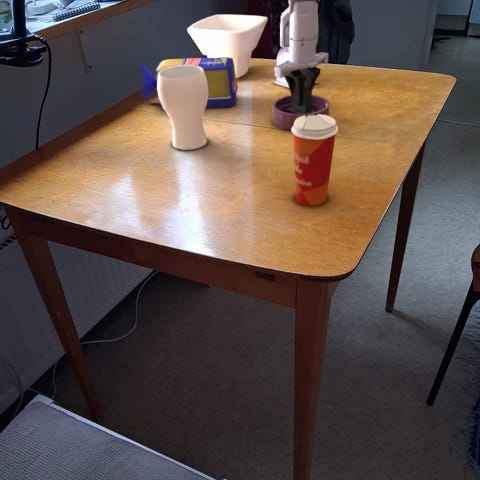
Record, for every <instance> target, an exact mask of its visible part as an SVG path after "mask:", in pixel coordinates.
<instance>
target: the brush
mask: <svg viewBox="0 0 480 480" xmlns="http://www.w3.org/2000/svg"><path fill="white" fill-rule="evenodd" d="M312 95H313V90H312V88H309V87H306V86H304V87H303V94H302V103H301V105H300V106H297V105H294V104H293V101H292V107H291V108H288V109H287V113H291V114H307V113H313V112H317V111H316V110H313V109H311V103H312Z"/></svg>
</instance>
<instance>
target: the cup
mask: <svg viewBox="0 0 480 480" xmlns="http://www.w3.org/2000/svg"><path fill="white" fill-rule="evenodd" d="M157 89H158V95H159V99H160V101H161V104H162V106H163V108H164V109H163V108H162V109H163V110H164V111H165V113H166V114H167V115H168V118H169V120H170V123H171V127H172V146H173V147H174V148H175V149H178V150H184V151H186V150H189V151H190V150H195V149H199V148H202V147H203V146H205V145H206V144H207V142H208V139H207V135H206V131H205V128H204V113H205V110H206V108H205V107H206V105H207V99H208V84H207V79H206V76H205V73H204V70H203V69H202V68H201V67H199V66H195V65H178V66H172V67H168V68H165V69H163V70H161V71H160V72H159V73H158V83H157V88H156V90H157ZM161 104H160V105H161ZM162 106H161V107H162Z"/></svg>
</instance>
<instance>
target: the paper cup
mask: <svg viewBox="0 0 480 480" xmlns="http://www.w3.org/2000/svg"><path fill="white" fill-rule="evenodd" d="M290 132H291V133H292V137H293V161H294V163H293V164H294V166H293V167H294V189H295V200H296V202H298V204H300V205H303V206H308V207H315V206H320V205H322V204H324V203H325V202H326V200H327V197H328V196H327V195H328V191H329V184H330V178H331V171H332V164H333V155H334V149H335V141H336V134H337V133H338V132H339V127H338V126H337V121H336V119H335V118H334V117H332V116H330V115H329V116H327V115H321V114H318V115H317V116H315V115H308V116H306V118H305V115H304V116H301V117H299V118H297V119H296V120H295V122H294V126H293V127H292V129H291V131H290Z"/></svg>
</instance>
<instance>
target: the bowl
mask: <svg viewBox="0 0 480 480" xmlns="http://www.w3.org/2000/svg"><path fill="white" fill-rule="evenodd" d="M268 19H269V18H268V17H267V16H262V15H252V14H251V15H248V14H227V13H226V14H214V15H210V16H207V17H205V18H202V19H200V20H198V21H196V22H194V23H192V24H191V25H190V26H189V27H187V32H188V35H190V37H191V38H192V40H193V41H194V43H195V44H196V46H197V48H198V49H199V50H200V52H201V53H202V55H204V56H207V57H206V58H214V57H228V58H232V59H233V62H234V67H235V75H236V79H239V78H240V77H242V76H244V75H245V74H247V73H248V71H249V69H250V68H249V67H250V63H251V59H252V53H253V51H254V50H255V49H256V47H257V46H258V44H259V41H260V39H261V37H262V33H263V32H264V29H265V27H266V25H267V22H268Z"/></svg>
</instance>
